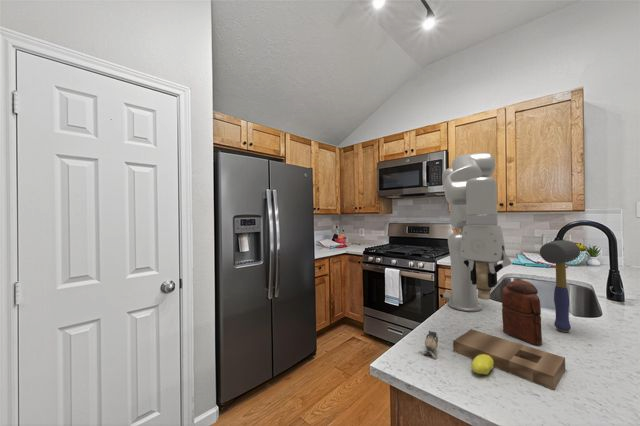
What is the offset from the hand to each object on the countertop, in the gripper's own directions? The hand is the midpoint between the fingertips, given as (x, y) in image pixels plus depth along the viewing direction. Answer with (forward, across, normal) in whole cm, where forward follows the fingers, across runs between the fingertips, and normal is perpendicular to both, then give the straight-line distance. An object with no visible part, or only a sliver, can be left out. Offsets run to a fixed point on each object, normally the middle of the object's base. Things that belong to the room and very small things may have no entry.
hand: (483, 284), depth 74 cm
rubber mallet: (+19, +10, +34) cm, 41 cm away
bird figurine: (+20, -10, -12) cm, 25 cm away
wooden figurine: (+20, +4, +19) cm, 28 cm away
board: (+19, +5, 0) cm, 20 cm away
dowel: (+4, 0, 0) cm, 4 cm away
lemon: (+20, +3, -10) cm, 22 cm away
